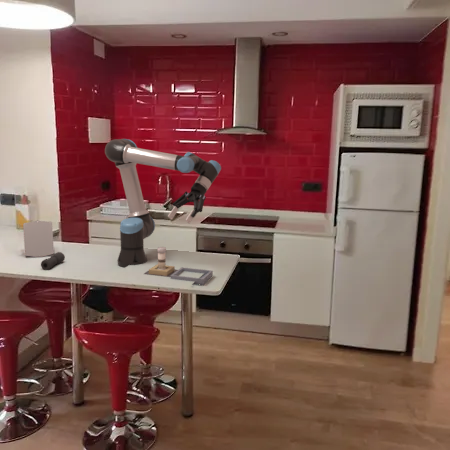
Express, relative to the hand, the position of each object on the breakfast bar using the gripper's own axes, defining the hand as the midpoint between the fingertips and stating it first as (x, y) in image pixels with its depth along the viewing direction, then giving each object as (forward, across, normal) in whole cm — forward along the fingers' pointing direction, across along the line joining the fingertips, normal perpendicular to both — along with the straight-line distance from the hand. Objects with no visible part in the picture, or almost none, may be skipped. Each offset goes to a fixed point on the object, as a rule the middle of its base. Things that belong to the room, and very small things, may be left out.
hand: (178, 219), depth 230 cm
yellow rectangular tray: (+26, 0, -11) cm, 28 cm away
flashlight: (+48, +49, +12) cm, 70 cm away
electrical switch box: (+44, +75, +9) cm, 88 cm away
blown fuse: (+25, 0, -10) cm, 27 cm away
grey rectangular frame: (+21, -14, -16) cm, 30 cm away
